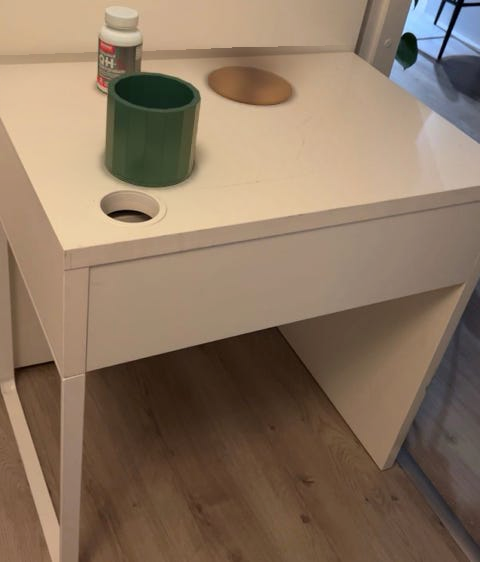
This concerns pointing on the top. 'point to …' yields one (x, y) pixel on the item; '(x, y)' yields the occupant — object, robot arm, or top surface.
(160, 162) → the tin
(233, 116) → the top surface
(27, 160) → the top surface
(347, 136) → the top surface
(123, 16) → the pill bottle
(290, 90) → the cork mat
